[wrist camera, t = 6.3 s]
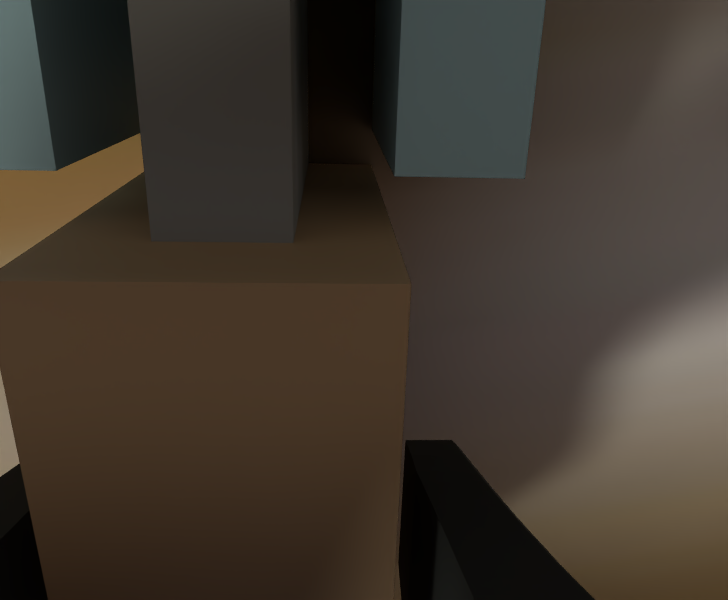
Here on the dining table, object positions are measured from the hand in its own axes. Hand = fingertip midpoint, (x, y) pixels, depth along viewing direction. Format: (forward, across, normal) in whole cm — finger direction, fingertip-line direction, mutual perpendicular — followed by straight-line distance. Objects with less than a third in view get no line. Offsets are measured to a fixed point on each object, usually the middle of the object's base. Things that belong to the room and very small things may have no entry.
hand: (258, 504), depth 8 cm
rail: (+2, 0, -2) cm, 3 cm away
